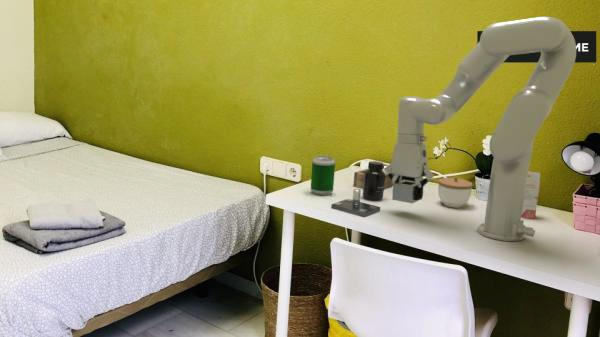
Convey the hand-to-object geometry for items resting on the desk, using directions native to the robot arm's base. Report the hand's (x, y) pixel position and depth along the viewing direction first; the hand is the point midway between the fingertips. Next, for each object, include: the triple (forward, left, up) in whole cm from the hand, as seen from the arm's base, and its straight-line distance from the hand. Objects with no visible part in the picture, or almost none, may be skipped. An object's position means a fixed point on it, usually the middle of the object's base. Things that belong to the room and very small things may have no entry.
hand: (407, 196), depth 182 cm
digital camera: (+12, -24, -6) cm, 28 cm away
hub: (0, 0, -1) cm, 1 cm away
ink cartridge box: (-26, -28, -6) cm, 38 cm away
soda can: (+31, 0, -6) cm, 32 cm away
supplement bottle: (+16, -8, -6) cm, 19 cm away
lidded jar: (-6, -22, -6) cm, 23 cm away
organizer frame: (+24, -26, -6) cm, 36 cm away
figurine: (+23, -27, -6) cm, 36 cm away
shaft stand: (+13, +7, -6) cm, 16 cm away
